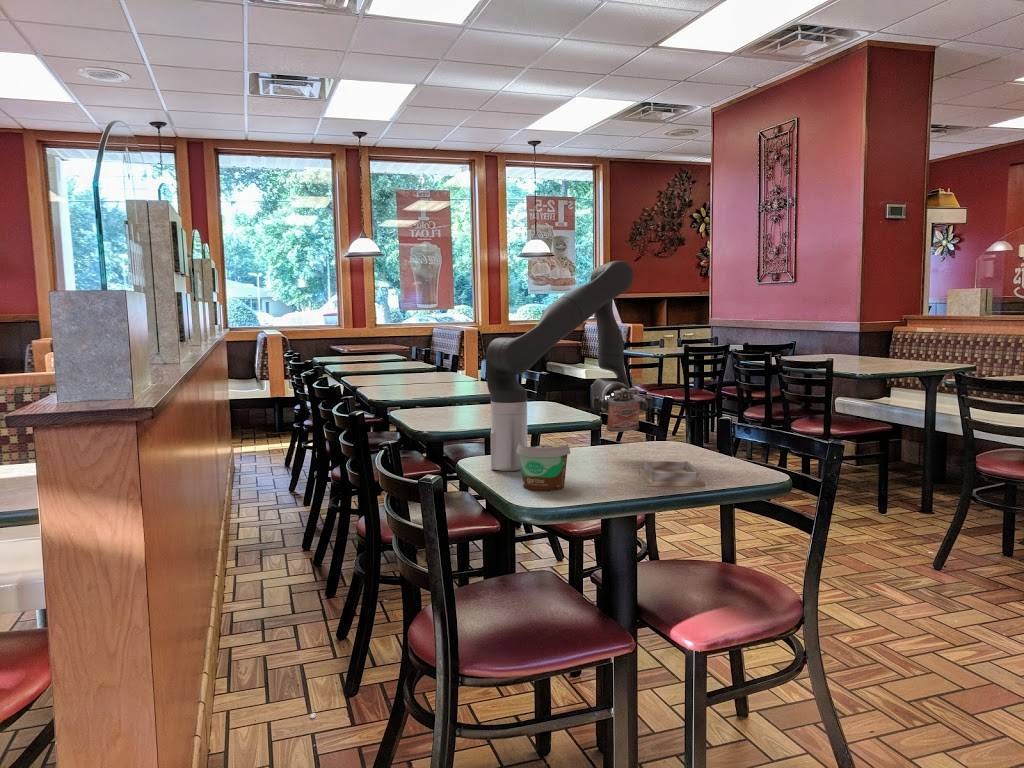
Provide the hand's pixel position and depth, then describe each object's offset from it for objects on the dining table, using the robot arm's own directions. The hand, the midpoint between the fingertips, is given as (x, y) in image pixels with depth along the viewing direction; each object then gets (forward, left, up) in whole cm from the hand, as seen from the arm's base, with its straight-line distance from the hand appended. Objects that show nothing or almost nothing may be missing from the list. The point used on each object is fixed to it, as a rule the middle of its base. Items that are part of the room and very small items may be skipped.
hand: (625, 406), depth 176 cm
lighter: (0, +3, -6) cm, 7 cm away
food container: (-20, -9, -18) cm, 28 cm away
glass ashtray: (+11, +1, -18) cm, 21 cm away
